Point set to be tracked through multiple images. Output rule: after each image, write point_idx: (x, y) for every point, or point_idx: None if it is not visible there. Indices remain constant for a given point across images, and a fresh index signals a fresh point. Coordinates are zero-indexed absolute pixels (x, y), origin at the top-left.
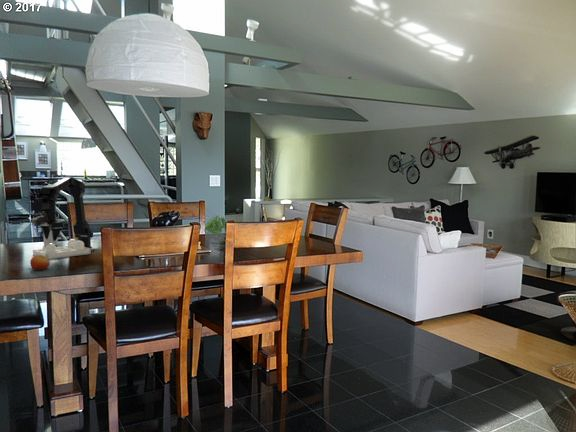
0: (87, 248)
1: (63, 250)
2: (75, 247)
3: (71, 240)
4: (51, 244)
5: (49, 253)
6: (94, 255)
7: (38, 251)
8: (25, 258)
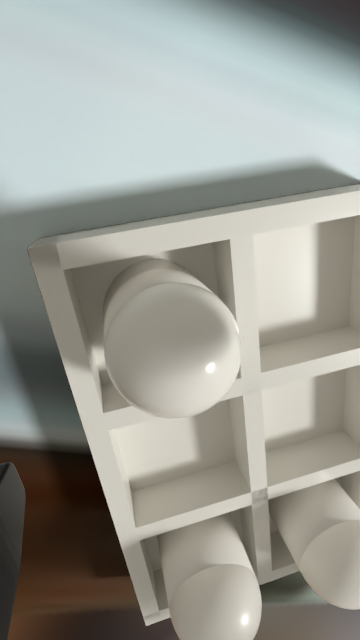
0: (168, 606)
1: (242, 444)
2: (192, 551)
3: (343, 580)
4: (144, 384)
5: (48, 292)
6: (54, 594)
7: (279, 210)
8: (260, 51)
